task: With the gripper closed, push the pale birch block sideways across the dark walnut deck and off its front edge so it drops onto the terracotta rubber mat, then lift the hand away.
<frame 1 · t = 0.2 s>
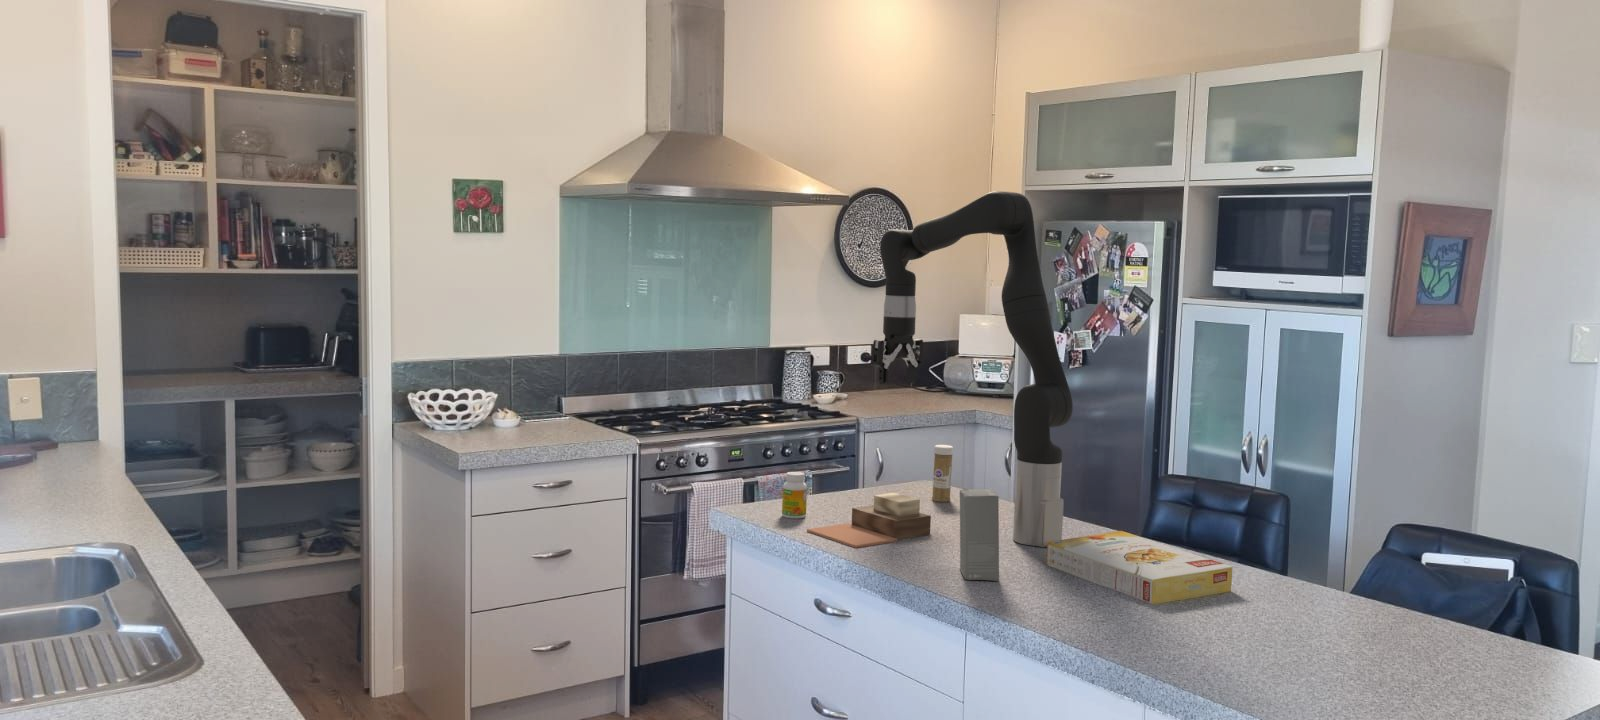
hand: (897, 383, 279), 29 cm above the worktop, tool pointing down, fingers open, 8 cm apart
cereal box: (1135, 581, 221), on the worktop
walnut deck: (890, 530, 253), on the worktop
supplement bottle: (793, 517, 263), on the worktop
terracotta mat: (851, 536, 246), on the worktop
skincare box: (976, 576, 219), on the worktop
birch block: (896, 504, 253), point 5 cm above the worktop, touching walnut deck
sprinkles bottle: (941, 501, 286), on the worktop
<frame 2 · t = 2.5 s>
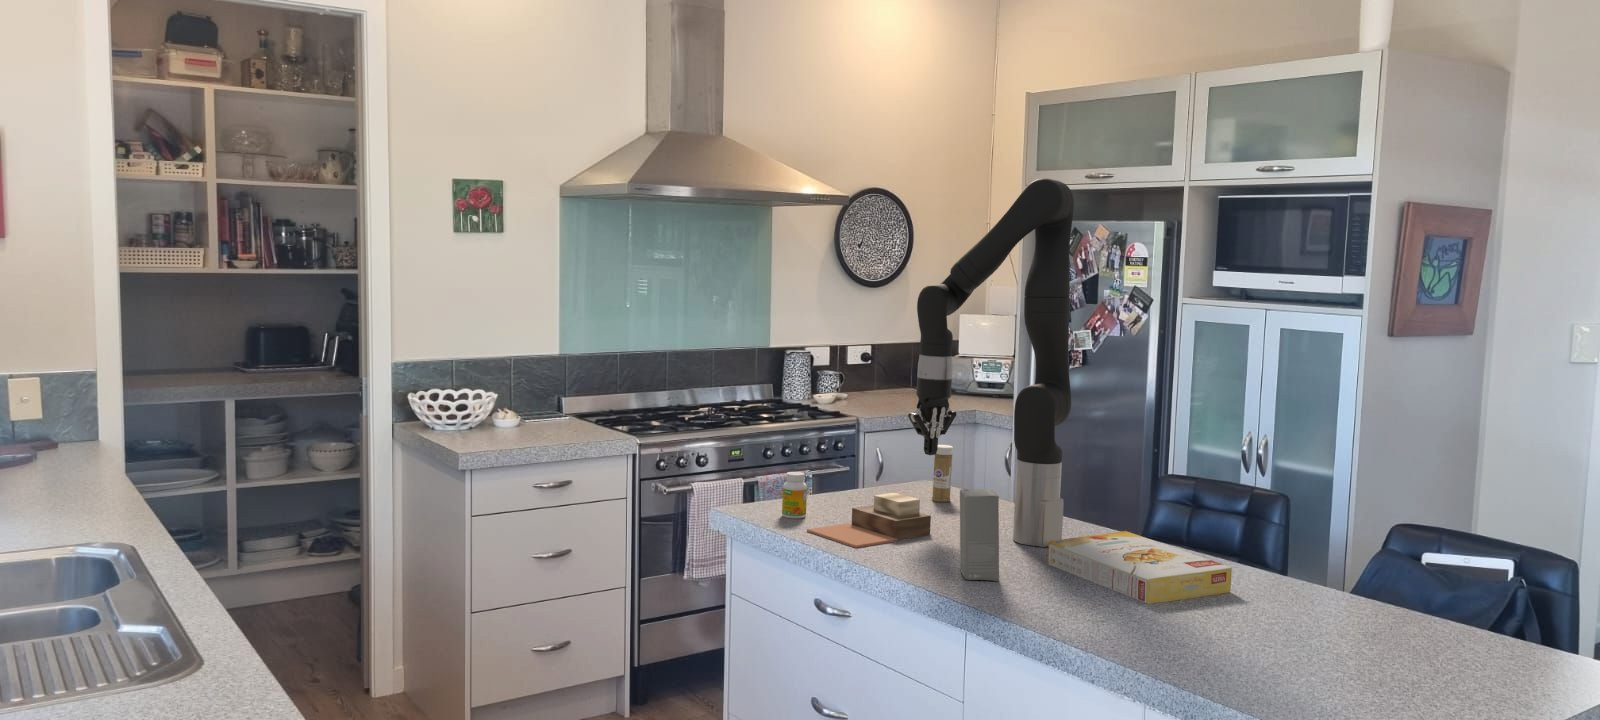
hand: (930, 454, 258), 16 cm above the worktop, tool pointing down, fingers closed
nothing on the worktop moved.
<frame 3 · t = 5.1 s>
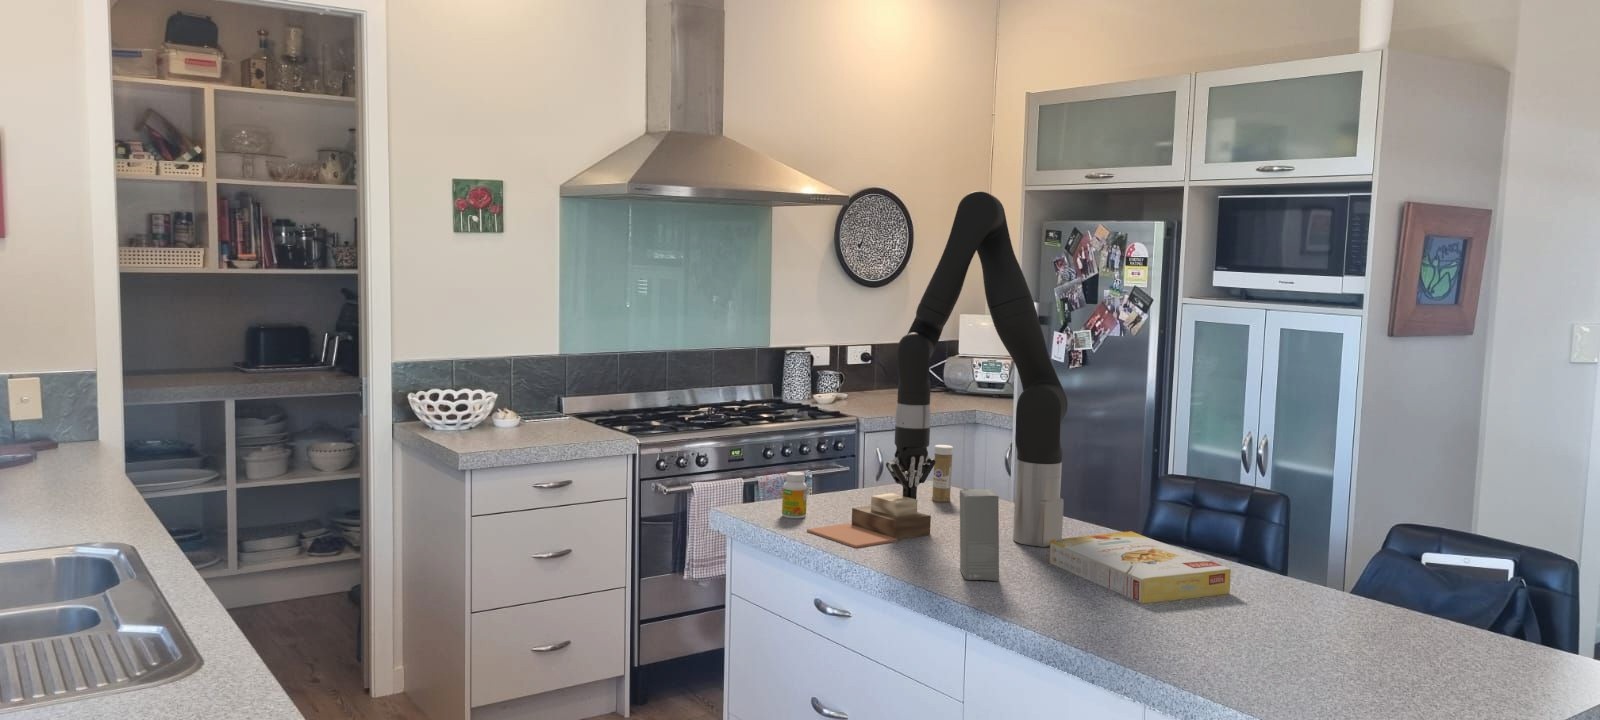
hand: (909, 503, 256), 5 cm above the worktop, tool pointing down, fingers closed
birch block: (894, 504, 253), point 5 cm above the worktop, touching gripper, walnut deck
everything else where it was.
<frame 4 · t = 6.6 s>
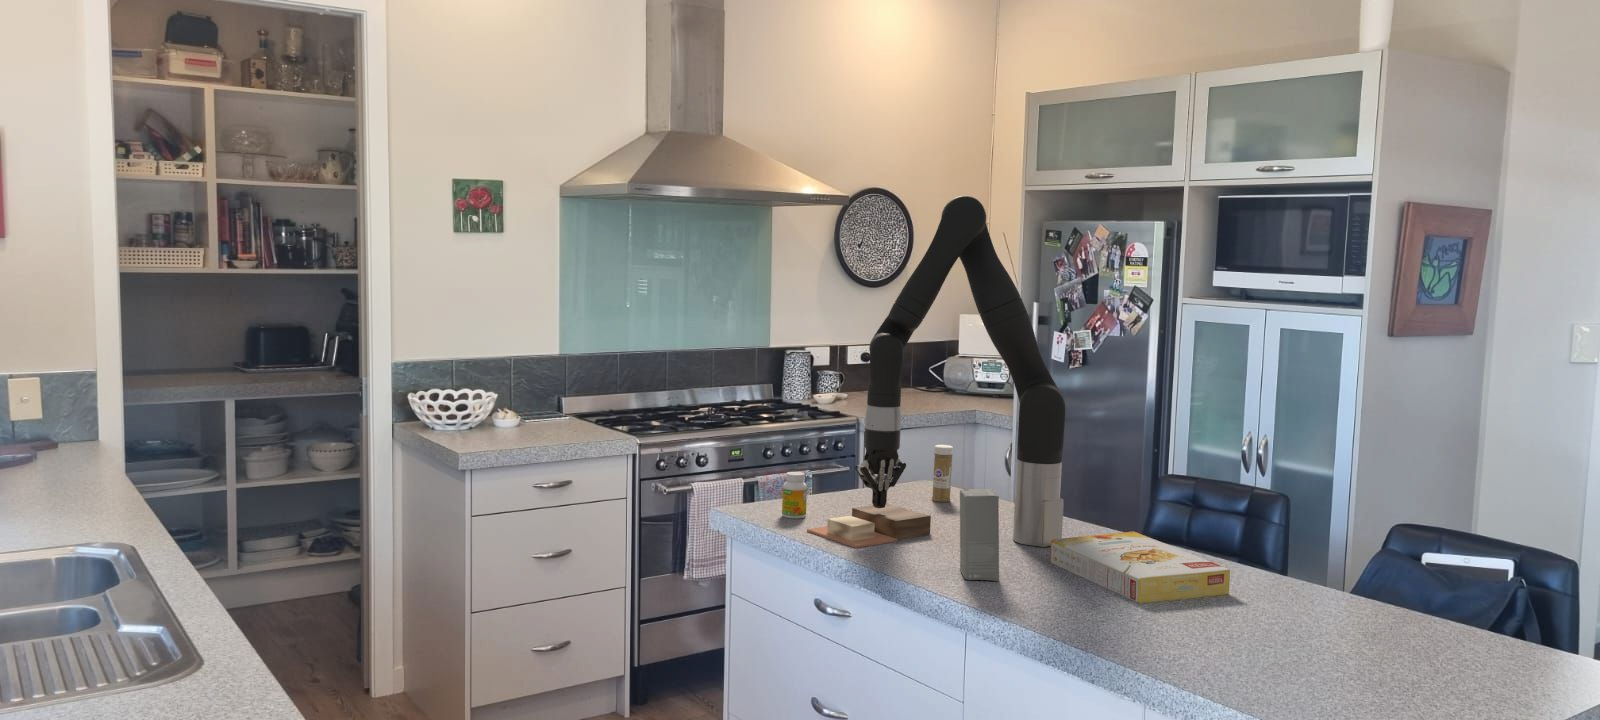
hand: (879, 507, 251), 5 cm above the worktop, tool pointing down, fingers closed
birch block: (850, 528, 245), point 2 cm above the worktop, tilted 180°, touching terracotta mat
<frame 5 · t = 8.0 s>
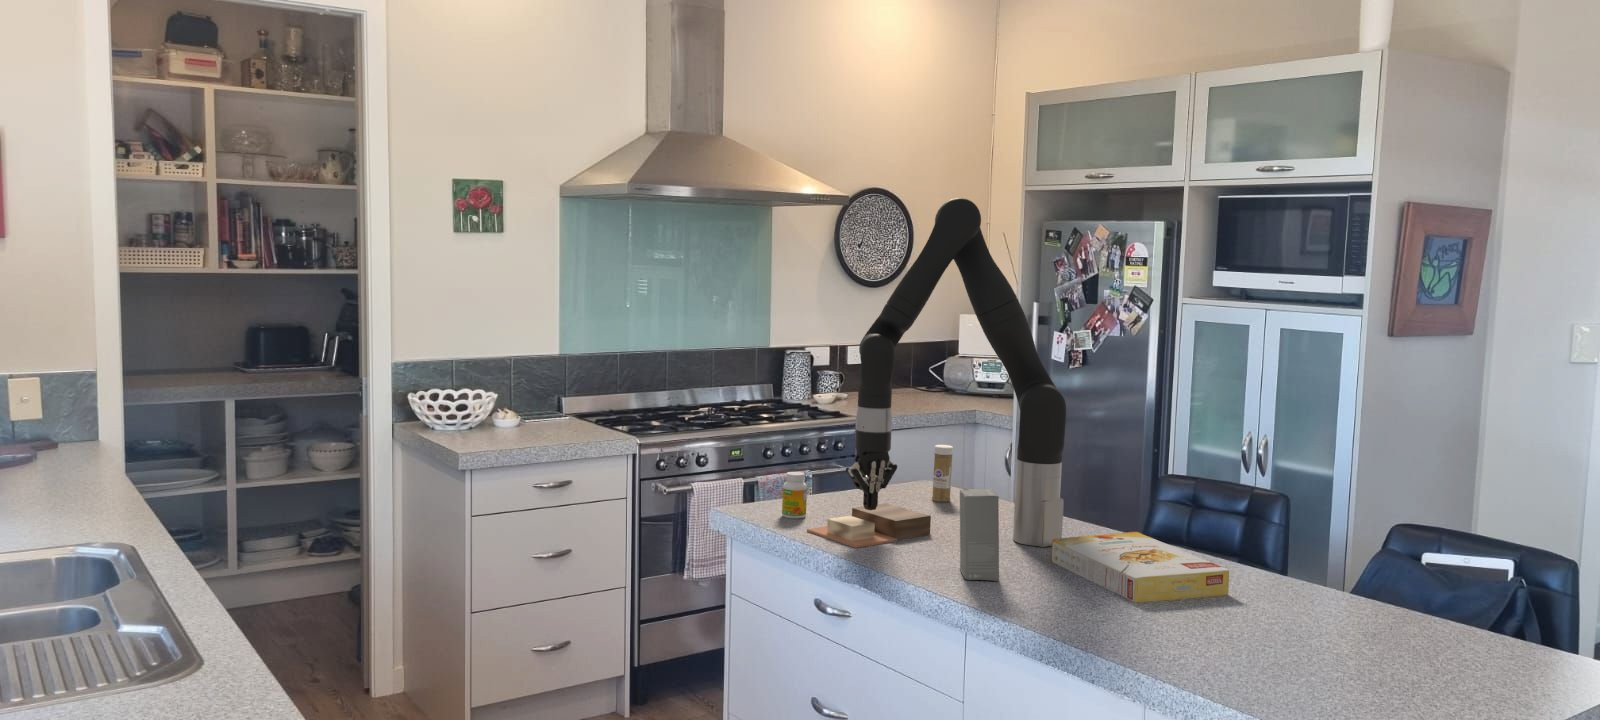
hand: (870, 509, 249), 5 cm above the worktop, tool pointing down, fingers closed
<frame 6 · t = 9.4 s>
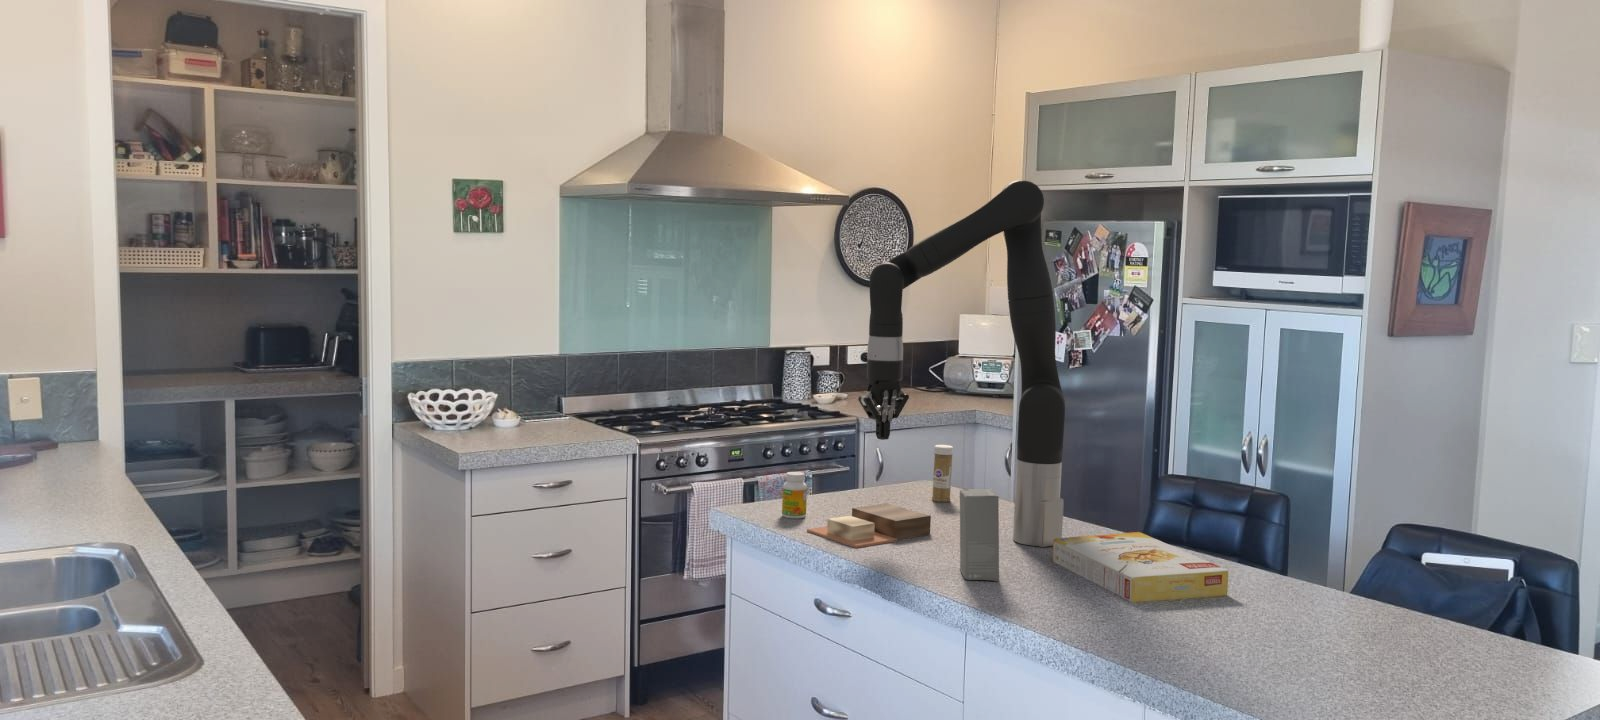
hand: (882, 439, 250), 20 cm above the worktop, tool pointing down, fingers closed
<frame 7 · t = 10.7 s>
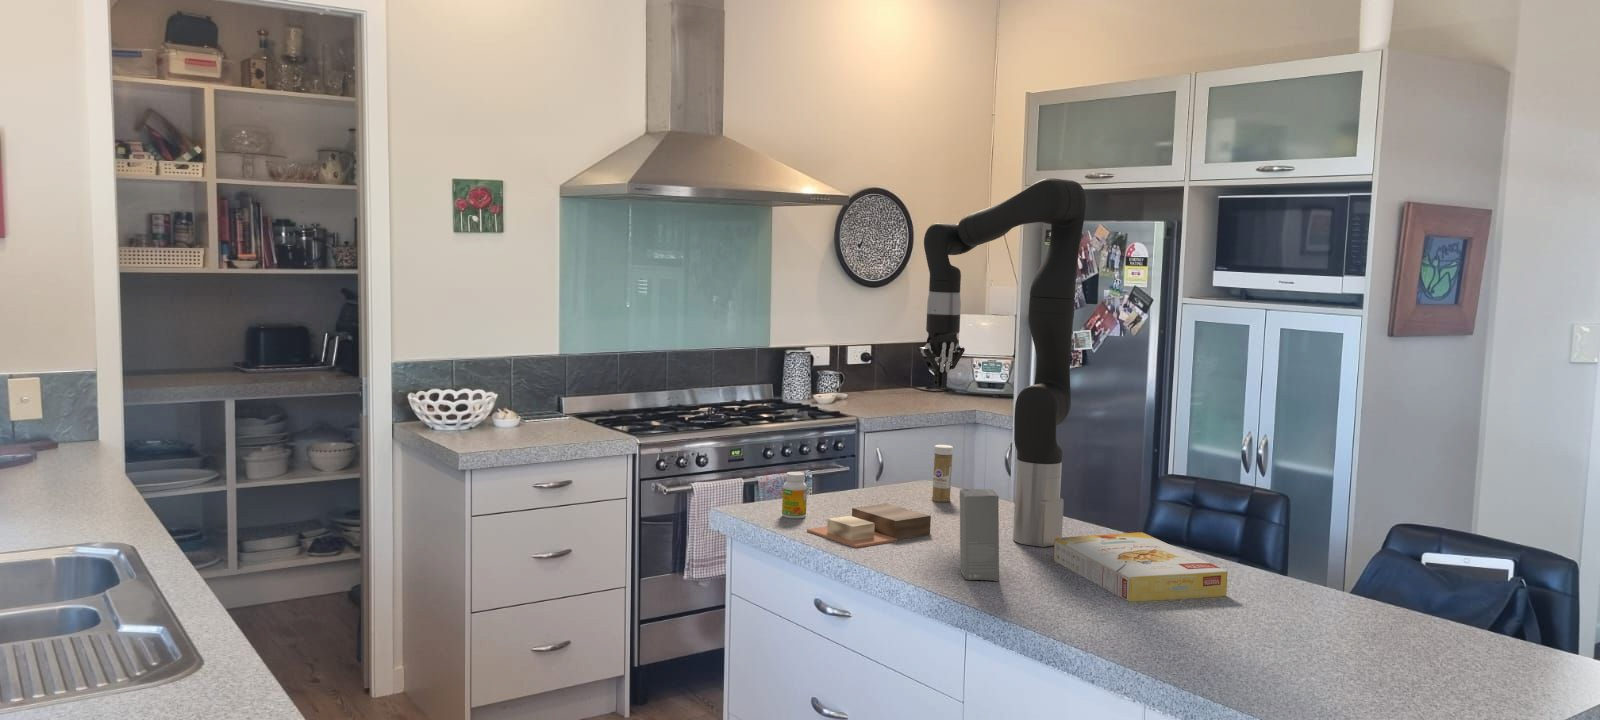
hand: (940, 388, 268), 29 cm above the worktop, tool pointing down, fingers closed
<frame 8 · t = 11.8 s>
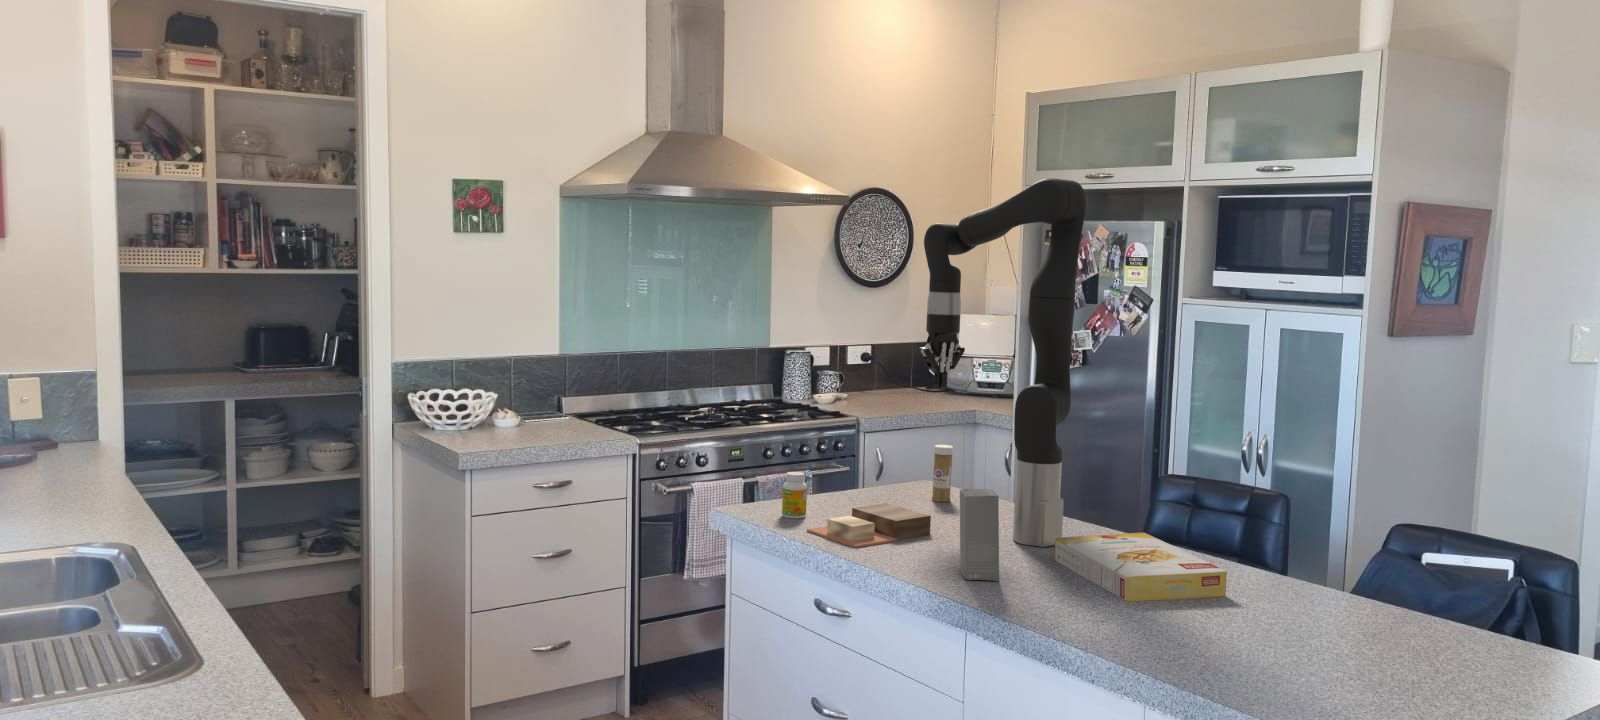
hand: (940, 388, 268), 29 cm above the worktop, tool pointing down, fingers closed
at the end: birch block point 2.0 cm above the worktop; birch block inside the target area on the terracotta mat (1.1 cm from its centre), point 2.0 cm above the terracotta mat's base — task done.
